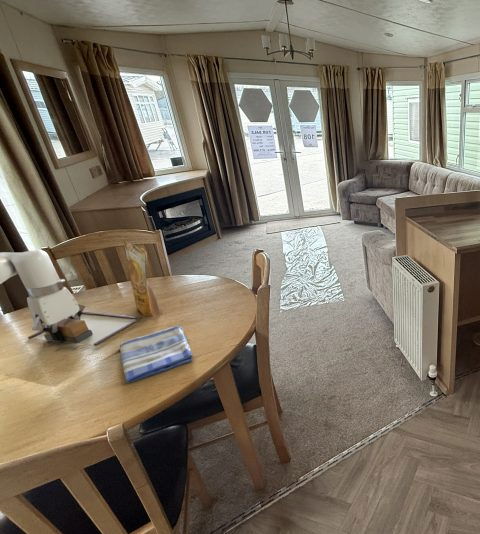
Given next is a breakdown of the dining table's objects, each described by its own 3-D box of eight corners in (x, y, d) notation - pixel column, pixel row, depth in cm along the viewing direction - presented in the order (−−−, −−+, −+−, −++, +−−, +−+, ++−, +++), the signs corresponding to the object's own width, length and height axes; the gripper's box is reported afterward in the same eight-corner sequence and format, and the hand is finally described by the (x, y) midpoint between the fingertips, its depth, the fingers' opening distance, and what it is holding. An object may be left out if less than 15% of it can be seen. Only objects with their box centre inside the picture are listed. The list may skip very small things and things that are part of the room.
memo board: (29, 340, 115) (27, 336, 114) (83, 314, 131) (81, 311, 130) (97, 348, 113) (95, 344, 112) (144, 320, 128) (142, 317, 127)
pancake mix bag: (154, 299, 143) (131, 236, 131) (168, 315, 132) (146, 248, 121) (133, 305, 138) (108, 240, 126) (147, 322, 127) (121, 253, 116)
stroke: (49, 344, 114) (46, 344, 113) (50, 341, 114) (47, 341, 113) (63, 345, 113) (60, 345, 112) (64, 342, 113) (61, 342, 113)
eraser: (46, 340, 114) (38, 325, 111) (62, 331, 118) (55, 317, 116) (77, 343, 113) (70, 328, 110) (93, 334, 117) (86, 319, 115)
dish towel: (183, 329, 124) (180, 322, 123) (196, 360, 108) (193, 353, 107) (120, 348, 113) (117, 341, 112) (125, 386, 97) (121, 379, 96)
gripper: (65, 276, 116) (85, 321, 123) (1, 300, 101) (29, 350, 108) (84, 278, 115) (104, 323, 123) (23, 302, 100) (50, 352, 107)
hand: (69, 335), depth 115 cm, fingers closed on eraser, 5 cm apart
